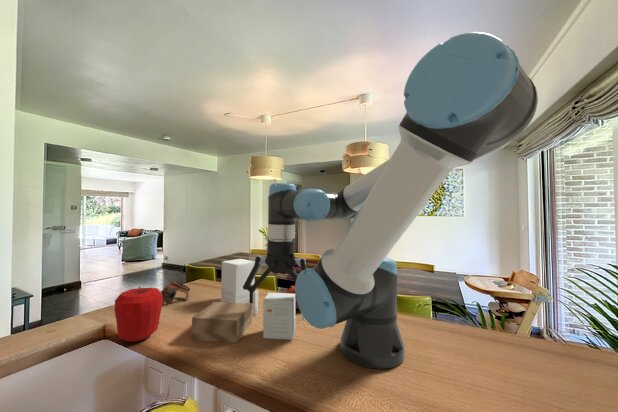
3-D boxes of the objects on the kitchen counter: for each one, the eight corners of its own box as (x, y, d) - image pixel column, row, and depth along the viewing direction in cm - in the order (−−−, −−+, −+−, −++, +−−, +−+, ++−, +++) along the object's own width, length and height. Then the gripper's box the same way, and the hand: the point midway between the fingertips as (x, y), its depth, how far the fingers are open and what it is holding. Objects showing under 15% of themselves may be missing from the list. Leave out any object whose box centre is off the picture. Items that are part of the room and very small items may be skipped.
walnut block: (251, 323, 77) (251, 303, 77) (236, 344, 65) (236, 320, 65) (213, 321, 78) (214, 301, 78) (191, 341, 66) (192, 317, 66)
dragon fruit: (313, 316, 86) (280, 317, 89) (315, 295, 93) (284, 296, 96) (306, 300, 82) (272, 302, 85) (310, 279, 89) (277, 281, 92)
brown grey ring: (159, 299, 97) (172, 279, 100) (183, 310, 98) (195, 289, 101) (149, 302, 86) (164, 278, 89) (175, 313, 87) (189, 290, 90)
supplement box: (255, 301, 96) (256, 261, 96) (235, 307, 89) (236, 264, 89) (240, 295, 101) (241, 258, 102) (220, 301, 94) (221, 261, 95)
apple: (118, 353, 59) (120, 294, 60) (109, 338, 66) (111, 285, 67) (167, 337, 67) (169, 285, 68) (154, 325, 74) (156, 278, 74)
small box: (295, 330, 72) (296, 293, 73) (292, 340, 67) (293, 300, 67) (267, 329, 73) (268, 292, 73) (262, 338, 68) (263, 298, 68)
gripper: (326, 239, 73) (324, 314, 73) (242, 236, 76) (240, 308, 75) (325, 243, 66) (323, 326, 65) (232, 239, 68) (229, 319, 68)
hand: (279, 316), depth 70 cm, fingers open, 13 cm apart
